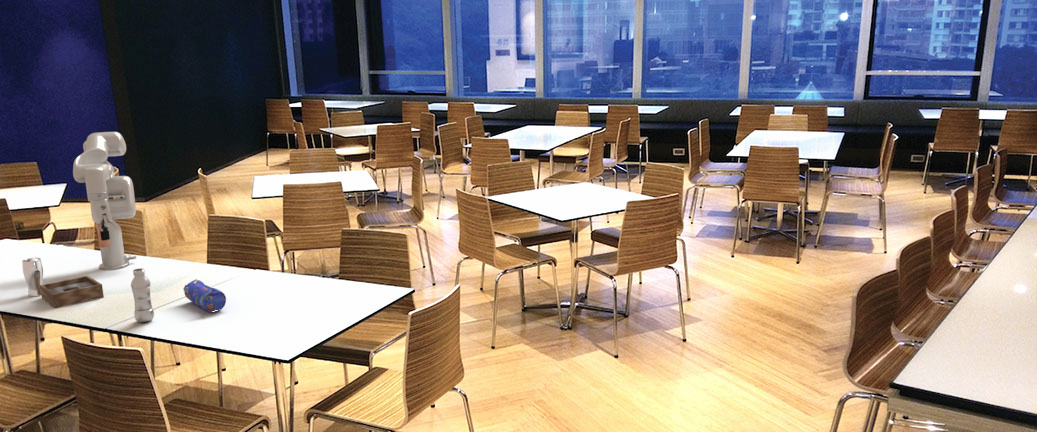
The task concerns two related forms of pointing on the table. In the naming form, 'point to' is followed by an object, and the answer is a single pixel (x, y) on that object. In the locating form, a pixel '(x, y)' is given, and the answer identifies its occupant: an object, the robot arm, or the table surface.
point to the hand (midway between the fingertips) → (103, 238)
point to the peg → (101, 243)
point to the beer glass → (33, 275)
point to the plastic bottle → (142, 296)
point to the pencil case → (205, 295)
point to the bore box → (71, 291)
